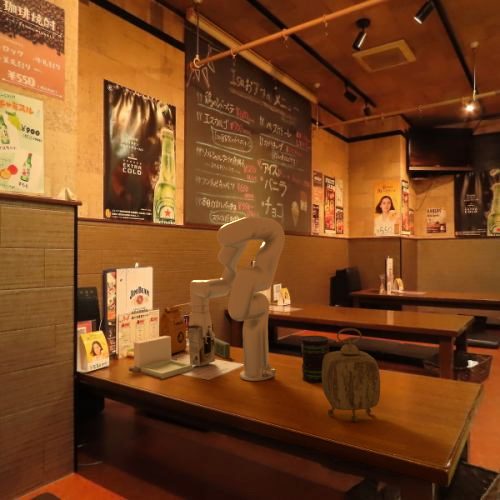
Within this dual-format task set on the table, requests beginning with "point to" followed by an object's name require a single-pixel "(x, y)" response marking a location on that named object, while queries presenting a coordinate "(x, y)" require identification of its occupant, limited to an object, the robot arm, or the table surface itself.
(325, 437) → the table surface
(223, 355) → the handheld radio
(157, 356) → the panel unit
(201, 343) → the coffee box
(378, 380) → the tabletop clock
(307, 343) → the storage jar
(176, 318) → the coffee package
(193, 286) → the robot arm
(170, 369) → the tray
